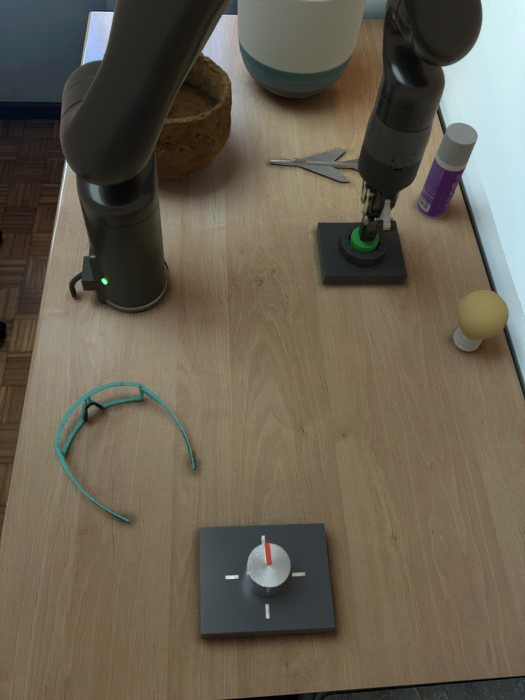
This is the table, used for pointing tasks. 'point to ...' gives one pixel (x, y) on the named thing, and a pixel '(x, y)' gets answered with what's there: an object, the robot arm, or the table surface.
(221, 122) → the bowl
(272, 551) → the dial
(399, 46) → the robot arm
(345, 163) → the toy airplane
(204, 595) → the panel
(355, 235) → the button
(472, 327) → the light bulb
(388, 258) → the block
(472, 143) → the container
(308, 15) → the planter
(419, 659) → the table surface
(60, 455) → the teal curved thin frame
